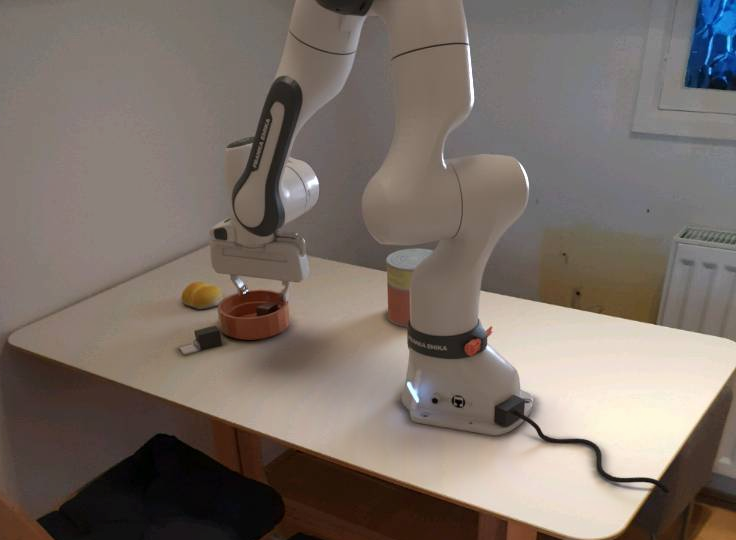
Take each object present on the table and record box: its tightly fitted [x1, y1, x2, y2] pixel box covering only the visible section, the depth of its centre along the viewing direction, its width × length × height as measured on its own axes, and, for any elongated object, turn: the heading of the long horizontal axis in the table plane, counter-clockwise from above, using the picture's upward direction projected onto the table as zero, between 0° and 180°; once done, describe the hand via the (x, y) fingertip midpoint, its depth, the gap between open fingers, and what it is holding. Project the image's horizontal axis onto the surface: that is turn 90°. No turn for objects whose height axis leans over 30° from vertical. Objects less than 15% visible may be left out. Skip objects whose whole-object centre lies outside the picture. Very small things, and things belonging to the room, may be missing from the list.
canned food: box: [385, 247, 435, 328], centre depth 165 cm, size 11×11×12 cm
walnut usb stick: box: [256, 302, 278, 317], centre depth 166 cm, size 8×3×3 cm, turn 155°
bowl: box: [217, 289, 291, 341], centre depth 167 cm, size 14×14×5 cm
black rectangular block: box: [179, 325, 223, 356], centre depth 161 cm, size 8×3×3 cm, turn 116°
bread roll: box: [181, 281, 224, 310], centre depth 178 cm, size 8×9×4 cm
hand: (263, 297), depth 165 cm, fingers open, 8 cm apart
